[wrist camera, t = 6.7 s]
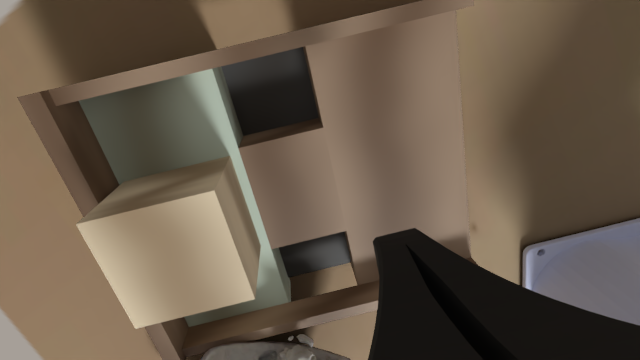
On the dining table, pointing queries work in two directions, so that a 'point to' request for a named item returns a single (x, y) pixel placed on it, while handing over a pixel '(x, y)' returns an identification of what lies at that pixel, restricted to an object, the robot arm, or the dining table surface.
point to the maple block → (176, 242)
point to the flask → (271, 351)
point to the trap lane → (287, 152)
